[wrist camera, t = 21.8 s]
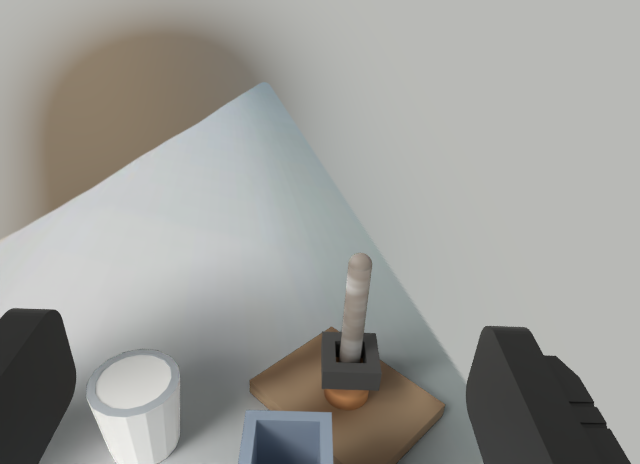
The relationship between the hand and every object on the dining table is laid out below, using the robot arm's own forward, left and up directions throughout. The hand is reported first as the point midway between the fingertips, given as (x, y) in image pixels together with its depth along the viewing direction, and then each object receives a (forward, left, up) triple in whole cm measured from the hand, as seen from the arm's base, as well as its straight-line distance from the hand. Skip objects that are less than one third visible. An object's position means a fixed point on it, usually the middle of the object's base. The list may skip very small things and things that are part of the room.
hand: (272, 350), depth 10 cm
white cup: (-23, +6, -30) cm, 38 cm away
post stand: (-14, +21, -30) cm, 39 cm away
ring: (-14, +21, -25) cm, 36 cm away
